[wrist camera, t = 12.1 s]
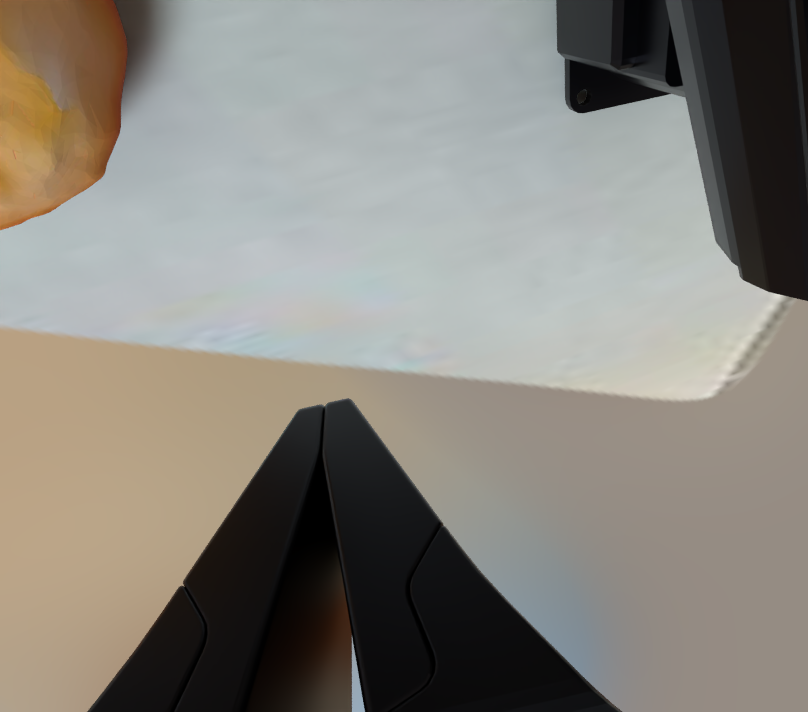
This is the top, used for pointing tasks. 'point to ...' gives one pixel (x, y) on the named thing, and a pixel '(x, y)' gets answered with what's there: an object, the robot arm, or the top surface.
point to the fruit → (56, 101)
